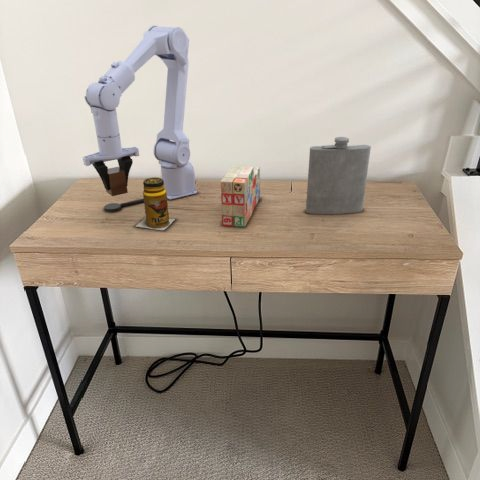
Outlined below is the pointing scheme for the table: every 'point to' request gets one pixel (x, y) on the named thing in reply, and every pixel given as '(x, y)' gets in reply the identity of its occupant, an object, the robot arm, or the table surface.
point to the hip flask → (337, 178)
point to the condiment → (155, 205)
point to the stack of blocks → (239, 195)
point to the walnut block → (117, 181)
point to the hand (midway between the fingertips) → (116, 187)
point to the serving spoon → (120, 205)
